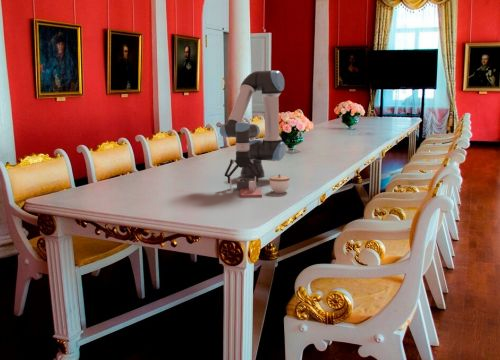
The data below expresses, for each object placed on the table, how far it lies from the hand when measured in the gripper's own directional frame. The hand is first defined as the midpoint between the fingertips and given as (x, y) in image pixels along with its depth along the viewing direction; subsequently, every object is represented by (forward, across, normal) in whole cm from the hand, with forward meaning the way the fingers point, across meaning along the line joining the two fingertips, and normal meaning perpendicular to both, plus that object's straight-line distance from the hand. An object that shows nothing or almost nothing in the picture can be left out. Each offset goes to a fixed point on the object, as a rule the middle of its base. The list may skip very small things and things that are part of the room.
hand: (243, 188), depth 291 cm
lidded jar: (0, +20, -9) cm, 21 cm away
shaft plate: (0, +4, -14) cm, 14 cm away
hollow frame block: (0, 0, 0) cm, 0 cm away
